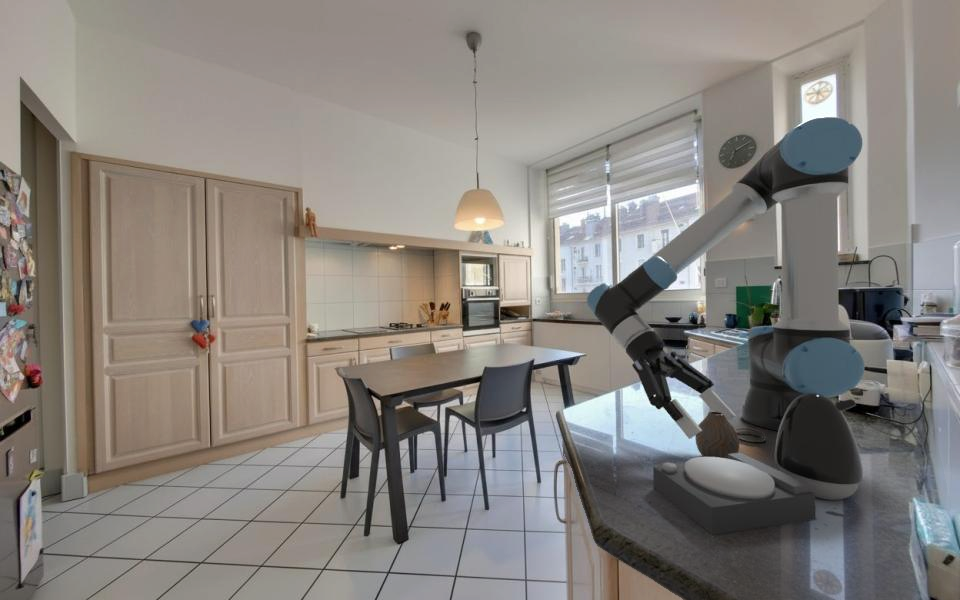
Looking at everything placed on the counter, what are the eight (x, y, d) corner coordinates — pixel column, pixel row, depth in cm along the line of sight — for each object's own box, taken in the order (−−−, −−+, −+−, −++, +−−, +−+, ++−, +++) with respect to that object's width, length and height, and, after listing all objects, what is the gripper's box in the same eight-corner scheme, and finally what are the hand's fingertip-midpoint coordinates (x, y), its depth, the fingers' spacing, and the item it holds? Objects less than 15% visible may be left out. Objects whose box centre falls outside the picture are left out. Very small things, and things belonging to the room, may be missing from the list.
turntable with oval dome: (740, 478, 62) (739, 451, 62) (815, 519, 50) (814, 486, 50) (653, 488, 60) (653, 460, 60) (712, 534, 48) (711, 499, 48)
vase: (745, 470, 65) (743, 420, 65) (700, 465, 67) (698, 416, 67) (733, 454, 71) (732, 409, 71) (692, 450, 74) (691, 406, 74)
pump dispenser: (886, 512, 52) (883, 403, 52) (800, 506, 54) (797, 401, 54) (832, 477, 62) (830, 386, 62) (762, 473, 64) (759, 385, 64)
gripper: (658, 346, 91) (728, 423, 79) (592, 357, 77) (664, 452, 65) (679, 325, 87) (756, 403, 74) (613, 333, 73) (695, 431, 60)
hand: (713, 426), depth 69 cm, fingers open, 13 cm apart
